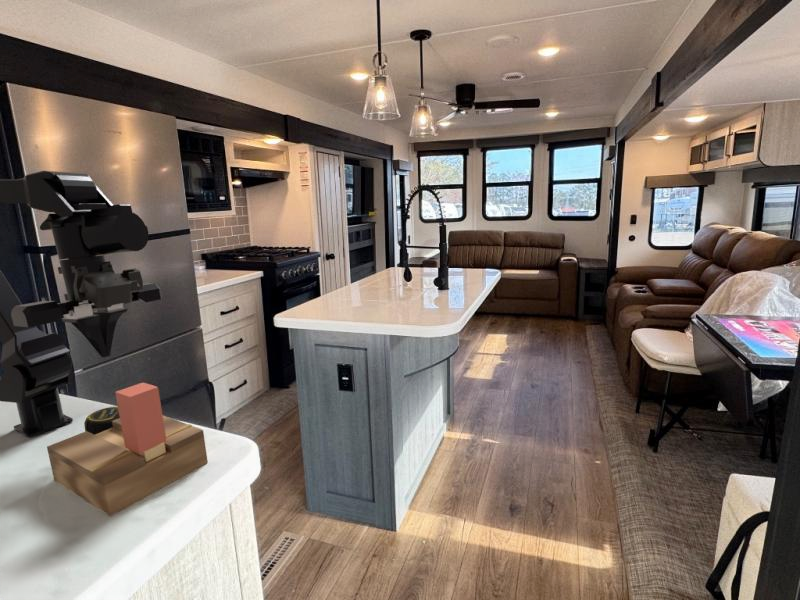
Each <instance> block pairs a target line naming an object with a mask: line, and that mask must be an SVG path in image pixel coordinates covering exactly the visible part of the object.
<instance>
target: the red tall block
mask: <svg viewBox="0 0 800 600" xmlns="http://www.w3.org/2000/svg"><path fill="white" fill-rule="evenodd" d="M114 393H115V397H116V403H117V407H118V410H119V415H120V421H121V426H122V432H123V438H124V443H125V448H127V449H129V451H131V452H133V453H134V454H136V455H138V456H141V457H143V458H144V459H145V462H147V461H149V460H151V459H153V458H156V457H158V456H160V455H162V454H164V453H166V450H165V443H166V442H167V440H166V434H165V428H164V421H163V410H162V404H161V397H160V391H159V387H158V386H156V385H152V384H150V383H147V382H140V383H137V384H134V385H132V386H129V387H126V388H123V389H120V390H116V391H115V392H114Z"/></svg>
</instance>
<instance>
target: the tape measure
mask: <svg viewBox="0 0 800 600" xmlns="http://www.w3.org/2000/svg"><path fill="white" fill-rule="evenodd" d="M119 418H120V415H119V410H118V406H109V407H105V408H101V409H98V410H96V411H94V412H93V411H92V412H91V413H90V414H88V415H87V416H86V418H85V421H84V423H83V424H84V426H83V427H84V432H85V431H88V432H90V433H92V434H94V435H95V434H98V433H100V432H103V431H105V430H108V429H110V428H113V424H112V421H113V420H116V419H119Z"/></svg>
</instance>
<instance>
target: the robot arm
mask: <svg viewBox="0 0 800 600" xmlns="http://www.w3.org/2000/svg"><path fill="white" fill-rule="evenodd" d="M100 189H101V188H99V187H98V186H97V185H96V184H95V182H94V180H93V179H92V176H91V175H89V174H88V173H83V172H69V171H68V172H67V171H54V170H49V171H48V170H40V171H37V172H32V173H28V174H25V176H24V177H22V178H15V179H14V178H9V179H8V178H6V179H5V178H0V204H8V205H11V204H12V205H13V204H18V205H19V204H20V205H26V206H28V207H29V208H31V209H34V210H36V211H37V210H38V211H42V212H45V213H48V214H47V217H46V219H45V220H43V222H42V223H41V224H40V226H39V230H40V231H51V233H52V236H53V241H54V244H55V249H56V252H57V257H58V260H59V267H58V266H57V271H58V274H59V275H62V277H63V282H64V285H65V290H66V293H63V296H64V299H65V301H64V302H58V303H57V301H56V300H41V301H37V302H36V301H35V302H30V303H24V304H23V303H22V302H21V300H20V299H19V297H18V295H17V294H16V292H15V291H14V290H13V288H12V286H11V285H10V283H9V281H8V280H7V278H6V277H5V275H4V273H2V271H1V269H0V343H1V344H2V348H1V349H2V350H1V355H0V356H1V357H0V366H1V368H2V371H3V372H4V373H3V375H2V376H1V379H0V402H6V403H16V407H17V411H18V417H19V420H20V423H19V424H16V425H14V426H13V430H15V431H17V432H19V433H20V434H22V436H25V437H27V438H31V437H35V436H37V435H40V434H43V433H46V432H48V431H51V430H54V429H56V428H59V427H62V426H65V425H66V424H70V423H73V422H74V419H73V417H70V416H68V415H66V414H64V412H63V406H62V402H61V398H60V393H59V388H61V387H63V386H65V385H69V384H71V379H72V369H73V363H74V362H73V359H72V356H71V354H70V353H71V351H70V349H68V348H67V346H66V345H65V343H64V342H63V340H62V337H61V335H59V334H58V333H57V332H51V333H45V332H43V331H42V330H40V329H39V328H38V326H43V325H47V324H51V323H52V324H53V323H56V322H58V321H59V319H60V318H61V316H64V317H63V318H61V321H62V322H63V323H70V324H72V325H73V327H75V328H76V330H78V332H80V333H81V334H82V336H84V337H85V339H87V341H88V342H89V344H90V345H91V346H92V348H94V350H95V351H96V352H97V354H99V356H100V357H101V358H104V359H105V358H107V357H108V358H109V357H110V356H111V352H112V347H113V340H114V335H115V330H116V327H117V323H118V321H119V319H120V318H121V316H122V315H123V314H125V313H128V312H129V308H124V304H125V305H126V304H131V303H132V302H137V301H141V302H142V303H151V302H155V301H160V300H163V294H162V290H161V287H160V286H159V285H158V284H156V283H154V282H153V283H151V282H150V283H149V282H148V283H144V280H143V276H142V273H141V271H140V269H137V268H129V269H128V268H127V269H123V270H122V272H120V273H118V272H117V273H116V272H115V271H114V268H113V265H112V263H111V261H110V260H109V261H106V260H107V259H106V255H107V256H108V255H114V254H123V253H125V254H126V253H133V252H139V251H141V250H143V249H144V248H145V247H146V245H147V244H148V242H149V235H150V234H149V229H148V226H147V225H146V224H145V222H144V221H143V219H142V218H141V217H140V216H139V215H138V214H136V213H135V212H133V209H132V205H131V204H130V203H126V204H125V203H124V204H123V203H121V204H120V203H117V204H113V203H112V201H110V199H109V198H108V197H107V196H106V194H104V193H103V191H102V190H100ZM84 301H85V302H84ZM94 309H96V311H95V310H94ZM93 310H94V311H93Z"/></svg>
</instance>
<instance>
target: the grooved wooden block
mask: <svg viewBox="0 0 800 600" xmlns="http://www.w3.org/2000/svg"><path fill="white" fill-rule="evenodd" d="M162 415H163V414H162ZM163 421H164V428H165V434H166V440H167V442H166V443H165V450H166V453H164V454H162V455H160V456H158V457H156V458H153V459H151V460H149V461H147V462H145V459H144V458H143V457H141V456H138V455H136V454H134V453H133V452H131V451H129V449H127V448H125V443H124V438H123V432H122V426H121V421H120V418H119V419H116V420H113V421H112V424H113V428H110V429H108V430H105V431H103V432H100V433H98V434H95V435H94V434H92V433H90V432H88V431H85V430H84V431H83V432H80V433H79V434H76V435H73V436H70V437H68V438H66V439H63V440H60V441H58V442H55V443H52V444H50V445H48V446H46V450H47V454H48V458H49V462H50V467H51V472H52V476H53V481H54V482H56V483H58V484H60V486H62V487H64V488H65V489H67V490H68V491H70V492H71V493H73V494H75V495H76V496H77V497H79V498H81V499H82V500H84V501H86V502H87V503H88V504H91V505H92V506H94V507H95V508H97V509H98V510H99V511H101V512H103V513H104V514H106V515H108V516H109V517H112V516H114V515H116V514H118V513H119V512H121V511H123V510H125V509H126V508H129V507H130V506H132V505H134V504H135V503H137V502H139V501H141V500H143V499H144V498H146V497H148V496H150V495H152V494H154V493H155V492H157V491H159V490H161V489H162V488H165V487H166V486H168V485H169V484H172V483H174V482H175V481H177V480H179V479H180V478H183V477H184V476H186V475H188V474H189V473H191V472H193V471H196V470H197V469H198V468H200V467H202V466H204V465H206V464H207V463H209V462H208V454H207V449H206V447H207V446H206V441H205V433H204V429H202V428H199V427H196V426H193V425H192V424H189V423H185V422H182V421H180V420H177V419H174V418H171V417H170V416H169V417H168V416H166V415H163Z"/></svg>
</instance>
